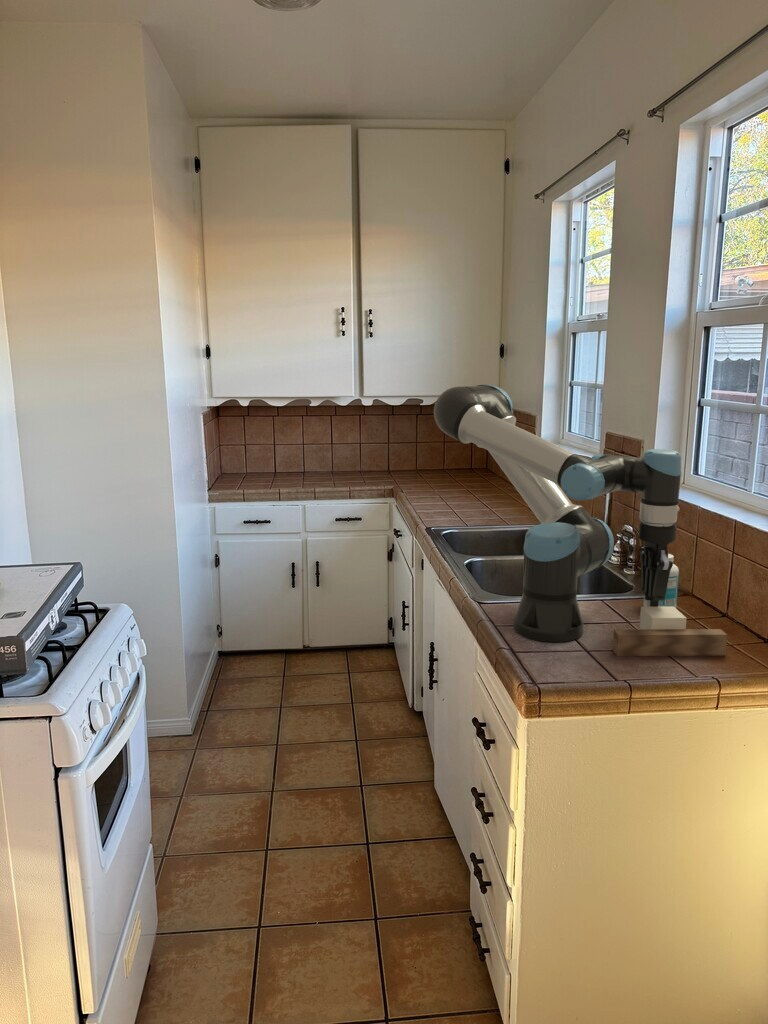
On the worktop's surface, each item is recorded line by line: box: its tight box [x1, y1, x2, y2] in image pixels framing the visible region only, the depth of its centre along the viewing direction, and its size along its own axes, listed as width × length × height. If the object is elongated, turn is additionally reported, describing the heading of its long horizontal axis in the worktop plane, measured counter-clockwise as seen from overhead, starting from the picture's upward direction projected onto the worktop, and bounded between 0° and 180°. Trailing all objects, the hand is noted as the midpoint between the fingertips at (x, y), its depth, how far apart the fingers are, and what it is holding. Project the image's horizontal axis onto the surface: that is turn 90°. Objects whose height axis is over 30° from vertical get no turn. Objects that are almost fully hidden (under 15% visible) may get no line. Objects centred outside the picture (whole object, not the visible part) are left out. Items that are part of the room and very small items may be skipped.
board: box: [612, 628, 728, 657], centre depth 150 cm, size 22×3×4 cm, turn 90°
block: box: [638, 606, 688, 629], centre depth 155 cm, size 7×7×7 cm
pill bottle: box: [643, 553, 680, 609], centre depth 175 cm, size 8×7×14 cm
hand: (650, 626), depth 161 cm, fingers closed
